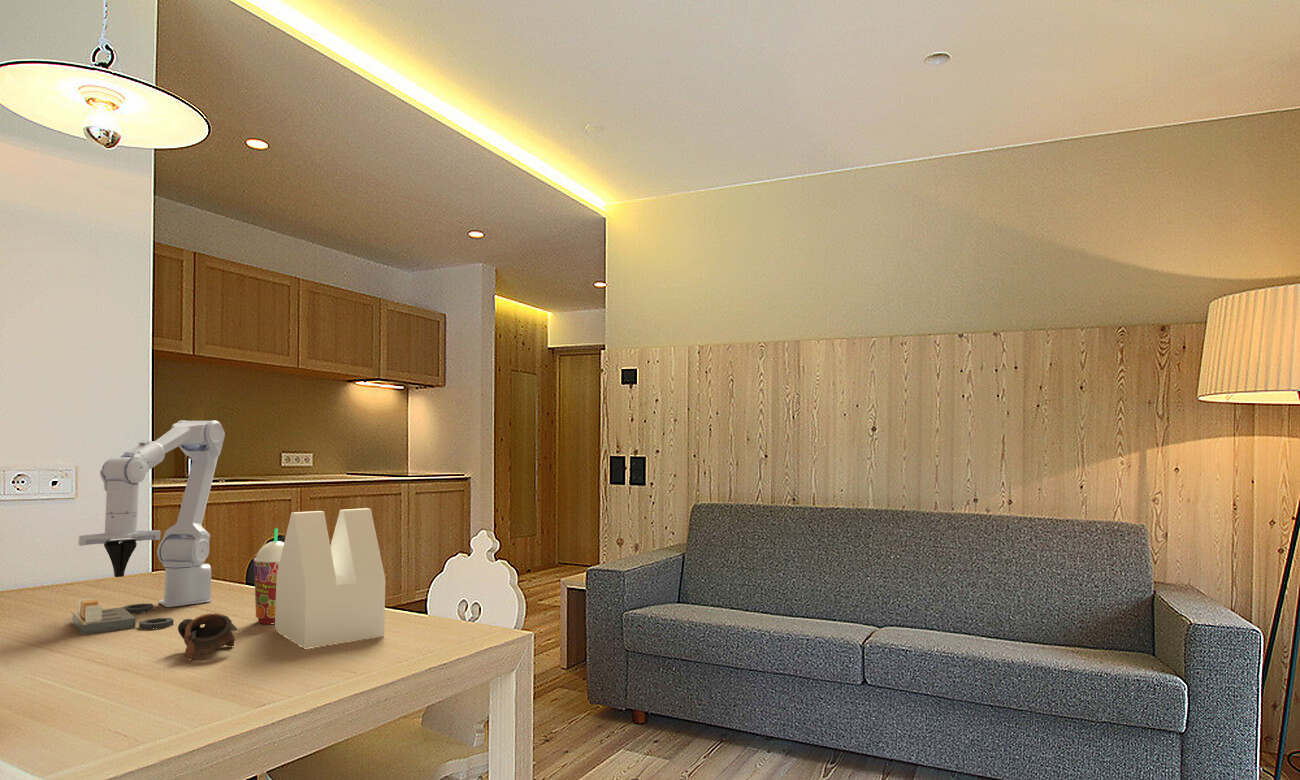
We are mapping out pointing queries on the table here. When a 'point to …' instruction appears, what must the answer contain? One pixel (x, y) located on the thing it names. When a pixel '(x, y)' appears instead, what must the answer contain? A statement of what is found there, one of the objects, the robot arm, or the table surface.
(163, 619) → the coil
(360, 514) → the white v-notch block
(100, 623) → the breaker strip
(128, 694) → the table surface
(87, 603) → the orange breaker switch
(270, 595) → the smoothie
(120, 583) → the table surface
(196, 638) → the rusty ring housing
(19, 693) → the table surface
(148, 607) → the coil
